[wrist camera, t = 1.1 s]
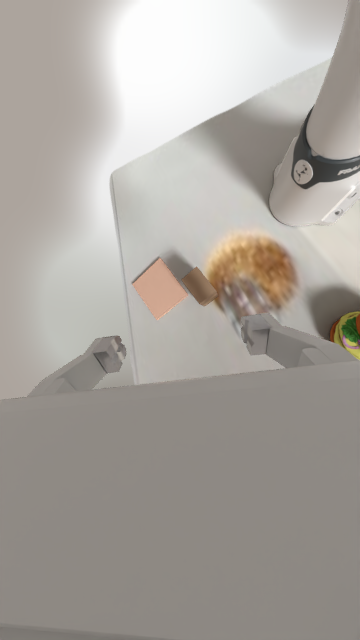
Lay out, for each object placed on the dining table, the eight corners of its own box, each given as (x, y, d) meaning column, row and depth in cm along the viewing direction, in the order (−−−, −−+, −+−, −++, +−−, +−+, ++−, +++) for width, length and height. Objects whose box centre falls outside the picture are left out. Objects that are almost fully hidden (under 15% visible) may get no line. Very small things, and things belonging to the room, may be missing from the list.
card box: (202, 276, 42) (196, 266, 34) (218, 296, 41) (215, 290, 33) (190, 287, 43) (181, 279, 35) (204, 306, 42) (199, 303, 34)
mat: (161, 259, 46) (160, 257, 45) (188, 295, 44) (187, 294, 43) (134, 284, 49) (132, 284, 48) (158, 319, 47) (156, 320, 46)
